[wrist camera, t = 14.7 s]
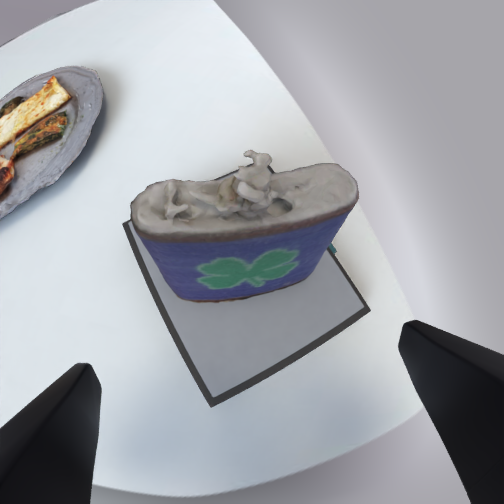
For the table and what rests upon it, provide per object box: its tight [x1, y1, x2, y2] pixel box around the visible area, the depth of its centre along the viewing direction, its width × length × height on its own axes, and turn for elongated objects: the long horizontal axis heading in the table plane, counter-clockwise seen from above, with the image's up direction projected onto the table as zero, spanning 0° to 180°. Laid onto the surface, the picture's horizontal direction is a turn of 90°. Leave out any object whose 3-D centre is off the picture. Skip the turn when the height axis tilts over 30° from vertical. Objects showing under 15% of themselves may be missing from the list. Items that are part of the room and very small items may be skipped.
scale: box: [122, 163, 371, 407], centre depth 21 cm, size 14×12×2 cm
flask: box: [130, 150, 359, 303], centre depth 14 cm, size 9×3×11 cm, turn 101°
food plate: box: [0, 66, 103, 218], centre depth 25 cm, size 25×23×4 cm
